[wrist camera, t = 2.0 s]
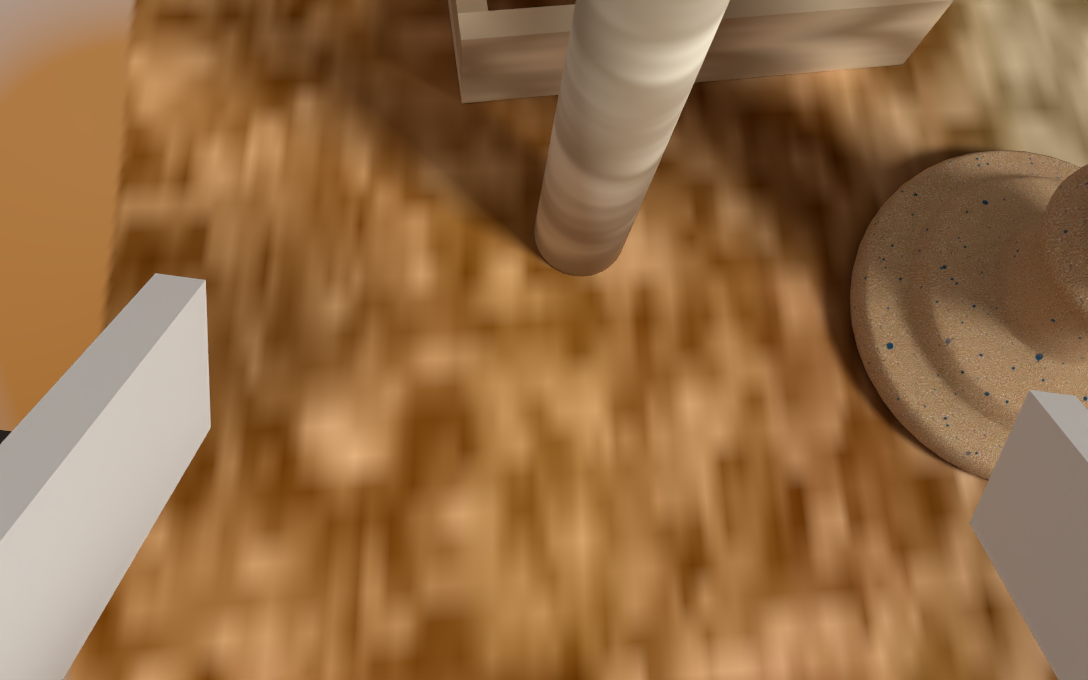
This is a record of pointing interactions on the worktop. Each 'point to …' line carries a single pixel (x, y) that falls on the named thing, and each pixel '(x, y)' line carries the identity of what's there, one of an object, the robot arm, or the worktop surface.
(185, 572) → the worktop surface
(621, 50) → the stool leg
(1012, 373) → the candle holder
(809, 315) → the worktop surface
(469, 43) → the stool
